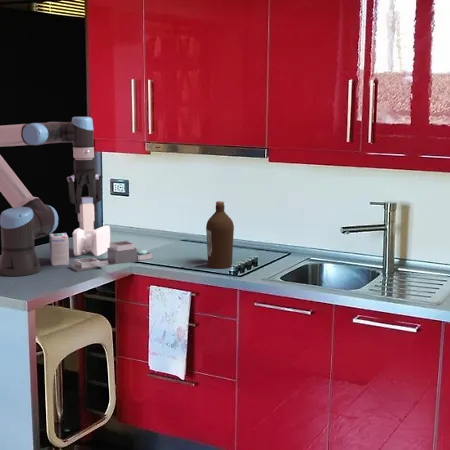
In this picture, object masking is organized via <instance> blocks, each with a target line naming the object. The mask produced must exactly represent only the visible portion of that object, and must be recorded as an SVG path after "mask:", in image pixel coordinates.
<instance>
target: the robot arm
mask: <svg viewBox="0 0 450 450" xmlns="http://www.w3.org/2000/svg"><path fill="white" fill-rule="evenodd" d="M93 123H94V122H93V118H92V117H90V116H73V117H72V118H71V121H67V122H66V121H48V122H31V123H20V124H19V123H18V124H7V125H0V147H16V146H18V147H19V146H41V145H45V144H46V145H47V144H49V145H50V144H59V143H70V144H71V143H72V151H73V158H74V160H73V173H72V175H70V176H67V177H66V180H67V183H68V193H69V194H68V195H69V202H70V203H71V204H74V205H75V206H74V207H75V208H74V209H75V210H74V211H75V214H77V221H78V222H79V223H80V222H83V217H82V205H81V204H80V200H81V197H82V192H83V187H84V185H85V184H86V186H87V189H88V194H89V197H92V198H93V221H94V222H95V212H97V204H98V203H99V202H101V201H102V179H103V175H101V174H97V173H96V169H95V159H94V158H95V147H94V131H95V130H94V124H93ZM94 179H95V189H94V183H93V180H94ZM75 181H76V192H75V184H74V183H75ZM0 193H1V194H2V196H3V197H4V199H6V201H7V202H8V204H10V206H11V208H7V209H5V210H3V211H2V212H1V214H0V235H1V236H0V240H1V241H0V242H1V255H0V275H1V276H6V277H20V276H21V277H23V276H30V275H34V274H37V273H40V272H41V264H40V263H41V262H40V260H39V258H38V256H37V252H36V250H35V249H36V248H35V240H37V239H40V238H44V237H47V236H49V234H54V232H55V231H56V230H57V228H58V225H59V215H58V212H57V210H56V209H55V208H54V207H53V206H51V205H48V204H44V202H43V201H42V199H40V198H39V197H36V196H33V195H32V193H30V191H29V190H28V189H27V187H26V186H25V185H24V183H23V182H22V181H21V180H20V178H19V177H18V176H17V174H16V173H15V171H14V170H13V169H12V168H11V166H9V164H8V163H7V161H6V160H5V159H4V157H3V156H2V155H1V154H0Z"/></svg>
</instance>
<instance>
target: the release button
mask: <svg viewBox="0 0 450 450" xmlns="http://www.w3.org/2000/svg"><path fill="white" fill-rule="evenodd" d="M147 252H148V249H146V248H145V249H142V248H140V249H137V255H144V254H147Z"/></svg>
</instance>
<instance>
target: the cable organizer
mask: <svg viewBox="0 0 450 450" xmlns="http://www.w3.org/2000/svg"><path fill="white" fill-rule="evenodd" d="M72 239H73V240H72V242H73V243H72V244H73V255H74V256H75V257H78V256H82V255H84V254H85V255H86V254H89V253H90V252H91V254H93V255H94V257H99V256H101V255H103V254H105V253H106V252H107V253H108V251H107V248H110V243H111V227H110V225H107V224H106V225H102V226H101V227H98V228H96V229H95V228H94V229H92V230H81V229H80V227H78V228H76V229H74V230H73V232H72Z"/></svg>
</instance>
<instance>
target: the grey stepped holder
mask: <svg viewBox="0 0 450 450" xmlns="http://www.w3.org/2000/svg"><path fill="white" fill-rule="evenodd" d="M137 250H138V248H136V247H135V243H133V242H130V241H128V240H122V241H121V240H120V241H113V242H111V241H110V248H107V260H98V259H96V258H94V257H86V258H85V257H83V258H77V259H74V264H71V265H70V264H69V268H70V269H72V270H74V271H75V272H76V273H77V272H85V271H86V272H87V271H92V270H100V269H102V267H105V266H111V265H119V264H120V265H121V264H128V263H134V262H143V261H149V260H151V261H152V260H154V258H153V253H151V252H149V251H147V254H144V255H137Z"/></svg>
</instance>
